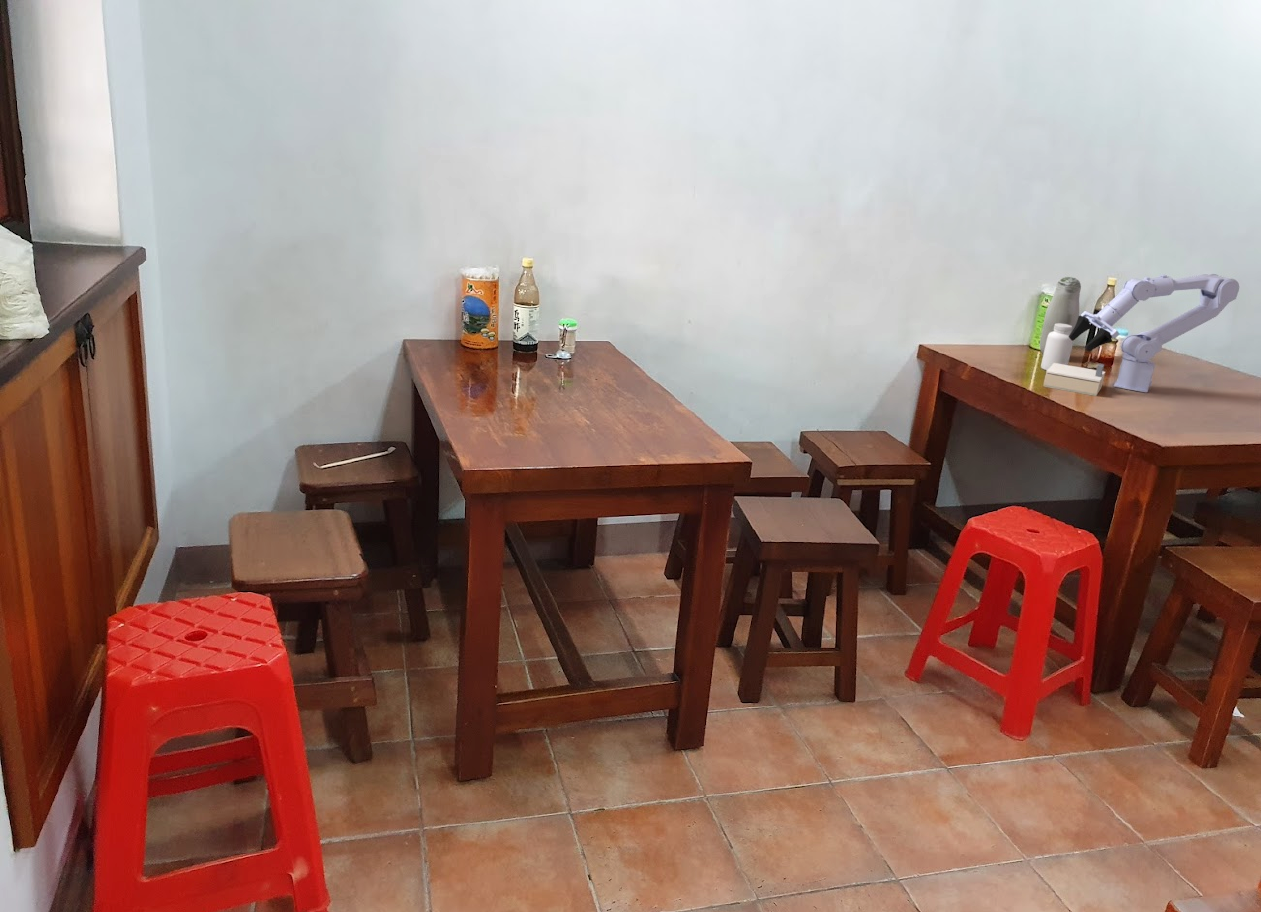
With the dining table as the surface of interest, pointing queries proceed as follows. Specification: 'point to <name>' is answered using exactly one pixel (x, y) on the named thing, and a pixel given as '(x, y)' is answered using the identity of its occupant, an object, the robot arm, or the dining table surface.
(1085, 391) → the beige open box
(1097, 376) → the lid
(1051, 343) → the pill bottle
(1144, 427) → the dining table surface
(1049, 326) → the gray tapered bottle
